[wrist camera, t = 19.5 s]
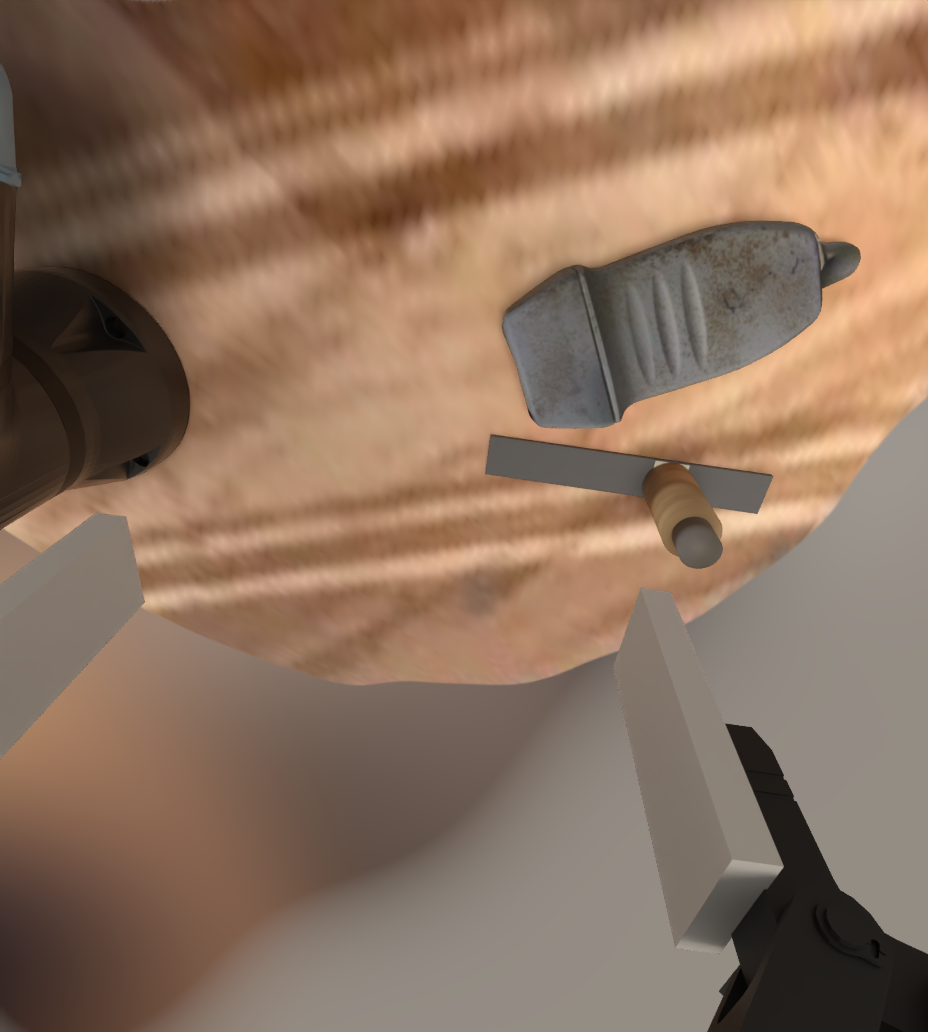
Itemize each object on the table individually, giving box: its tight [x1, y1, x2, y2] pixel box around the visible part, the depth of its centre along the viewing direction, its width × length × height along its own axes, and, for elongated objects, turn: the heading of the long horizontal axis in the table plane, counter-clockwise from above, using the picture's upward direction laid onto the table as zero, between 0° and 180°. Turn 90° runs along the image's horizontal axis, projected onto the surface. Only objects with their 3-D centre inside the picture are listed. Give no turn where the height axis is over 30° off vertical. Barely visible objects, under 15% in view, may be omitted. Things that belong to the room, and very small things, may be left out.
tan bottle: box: [642, 463, 723, 569], centre depth 36 cm, size 4×4×9 cm
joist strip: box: [485, 435, 773, 514], centre depth 40 cm, size 20×3×1 cm, turn 84°
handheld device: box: [502, 221, 861, 429], centre depth 33 cm, size 10×20×5 cm, turn 111°
